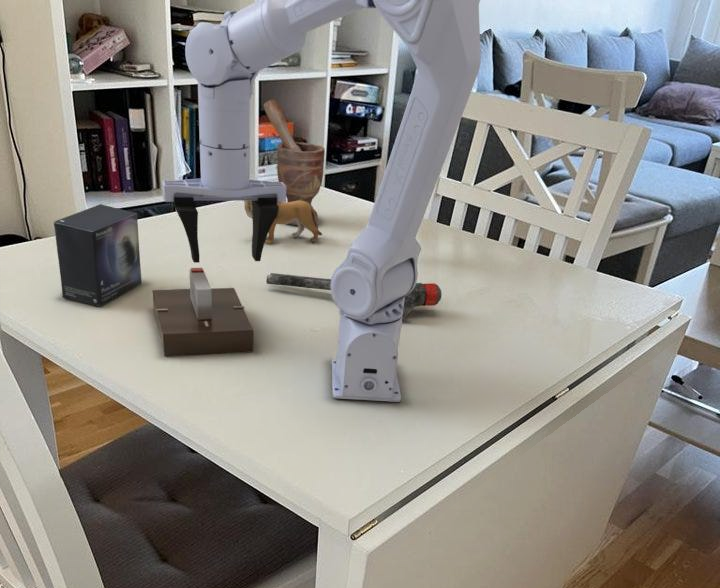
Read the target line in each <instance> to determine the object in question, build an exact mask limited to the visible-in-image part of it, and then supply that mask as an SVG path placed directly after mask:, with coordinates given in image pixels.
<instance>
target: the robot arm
mask: <svg viewBox="0 0 720 588" xmlns="http://www.w3.org/2000/svg"><path fill="white" fill-rule="evenodd" d="M480 2H481V0H256V1H254V2H252V3H251V4H249V5H246V6H245V7H244V8H242V9H240V10H238V11H237V10H233V9H232V10H228V11H226V12H225V13H224V14H223V20H221V22H220V23H218V24H217V23H216V24H215V23H211V22H207V21H203V22H198V23H197V24H196V25H195V27H194V28H192V29H191V31H190V32H189V34H188V35H187V38H186V42H185V48H184V52H185V53H184V54H185V55H184V56H185V61H186V64H187V67H188V70H189V71H190V73H191V75H192V76H193V78H194V79H195V80H196V81H197V99H198V100H197V102H198V131H199V135H198V136H199V160H200V161H199V163H200V164H199V165H200V177H199V178H189V179H178V180H176V179H175V180H162V182H161V184H162V185H161V186H162V198H163V200H164V202H165V203H172V204H173V206H174V209H175V211H176V213H177V216H178V217H179V219H180V222H181V223H182V226H183V228H184V232H185V234H186V237H187V241H188V244H189V249H190V256H191V259H192V262H193V263H195V264H196V263H197V264H198V263H200V247H199V237H198V236H199V235H198V233H199V232H198V231H199V229H198V226H199V225H198V224H199V223H198V222H199V221H198V220H199V211H198V209H197V204H196V202H195V201H218V202H219V201H221V202H222V201H223V202H224V201H228V202H229V201H237V202H238V201H239V202H241V201H243V202H244V201H251V202H252V218H253V219H252V218H251V219H252V235H251V256H252V259H253V260H254V261H255V262H261V259H262V254H263V250H264V246H265V243H266V240H267V238H268V236H269V233H268V232H269V230H270V228H271V226H272V224H273V222H274V220H275V219H276V217H277V215H278V212H279V206H278V205H277V202H283V203H285V202H287V197H286V186H285V184H284V183H283V182H279V181H268V180H259V179H250V169H251V168H250V159H251V157H250V150H251V149H250V147H251V146H250V142H251V141H250V137H251V133H250V132H251V130H250V129H251V128H250V127H251V124H250V123H251V120H250V119H251V116H250V115H251V113H250V112H251V98H252V96H253V95H254V82H255V79H256V78H257V77H258V75H259V73H260V71H261V70H264V69H266V68H268V67H269V66H272V65H274V64H276V63H278V62H280V61H282V60H284V59H286V58H288V57H290V56H293V55H295V54H298V53H299V52H300V51H301V50H302V48H304V45H305V42H306V39H307V33H308V32H311V31H313V30H316V29H318V28H320V27H322V26H325V25H328V24H329V23H332V22H334V21H336V20H338V19H341V18H343V17H345V16H348V15H350V14H352V13H355V12H357V11H360V10H362V9H377V11H378V12H379V14H380V15H381V16H382V18H383V19H384V20H385V21H386V22H387V24H388V25H389V26H390V28H391V29H392V30H393V31H394V32H395V33H396V35H397V36H398V37H399V38H400V40H401V41H402V42H403V43H404V44H405V45H406V46H407V49H408V51H409V53H410V55H411V58H412V61H413V62H414V65H415V67H416V70H417V74H416V76H415V80H414V83H413V86H412V89H411V91H410V92H411V93H410V95H409V98H408V101H407V104H406V107H405V109H404V113H403V116H402V119H401V122H400V125H399V128H398V131H397V134H396V136H395V140H394V143H393V146H392V150H391V152H390V155H389V158H388V161H387V164H386V167H385V171H384V174H383V176H382V179H381V182H380V186H379V188H378V192H377V195H376V196H375V197H376V198H375V201H374V204H373V206H372V209H371V212H370V216H369V219H368V221H367V224H366V226H365V228H364V229H363V230H362V231H361V232H360V234H359V235H358V236H357V237H356V238H355V240H354V241H353V242H352V244H350V247H349V248H348V251H347V254H346V257H345V258H344V260H343V261H342V263H341V264H339V265H338V266H337V267H336V268H335V269H334V271H333V272H332V275H331V278H330V279H331V284H330V285H331V290H330V294H331V297H332V300H333V302H334V304H335V306H336V307H337V308H338V314H339V324H338V335H337V336H338V337H337V348H336V349H337V350H336V358H333V359H332V360H331V387H332V391H331V392H332V397H333V398H334V399H339V400H340V399H341V400H342V399H343V400H357V401H373V402H375V401H376V402H391V403H399V402H401V400H402V393H401V390H400V389H401V388H400V385H399V379H398V373H397V368H398V362H399V361H398V359H399V347H400V346H399V345H400V338H401V331H402V323H403V319H402V317H403V309H404V300H405V296H407V295H408V294H410V293H411V291H412V290H413V289H414V287H415V285H416V283H418V275H419V274H418V273H419V272H418V259H419V257H420V253H421V251H422V246H421V244H420V243H419V242H418V240H417V238H416V237H417V235H418V232H419V230H420V227H421V225H422V222H423V220H424V217H425V214H426V211H427V208H428V206H429V204H430V201H431V198H432V197H433V193H434V190H435V188H436V185H437V182H438V180H439V177H440V175H441V172H442V169H443V167H444V164H445V161H446V159H447V156H448V153H449V151H450V148H451V146H452V143H453V141H454V138H455V136H456V134H457V133H456V132H457V130H458V127H459V124H460V122H461V119H462V118H463V117H462V116H463V114H464V111H465V108H466V107H467V103H468V101H469V98H470V96H471V94H472V90H473V88H474V85H475V82H476V80H477V77H478V76H479V72H480V67H481V64H482V63H481V61H482V60H481V59H482V57H481V56H482V55H481V54H482V53H481V29H480V26H481V25H480Z"/></svg>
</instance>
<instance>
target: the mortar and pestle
mask: <svg viewBox="0 0 720 588" xmlns="http://www.w3.org/2000/svg"><path fill="white" fill-rule="evenodd" d="M263 109H264V112H265V114H266V116H267V118H268V120H269V122H270V123H271V125H272V127H273V128H274V130H275V131H276V133H277V135H278V136H279V138H280V140H281V142H280V143H278V144H277V145H276V165H277V166H276V173H277V179H278V182H283V183H284V184H285V186H286V202H293V201H298V200H301V201H306V202H308V203H309V204H310V205H311V206H312V207H313V205H312V202H313V199H314V198H315V197H316V196H317V195H318V194H319V192H320V189H321V186H322V182H323V177H324V167H325V166H324V163H325V153H326V151H325V150H326V149H325V148H324V147H323V146H322V145H318V144H315V143H310V142H300V141H299V142H298V141H297V142H296V141H295V140H294V137H293V135H292V133H291V131H290V128H289V126H288V123H287V120H286V118H285V115H284V113H283V110H282V108H281V106H280V103H279V102H278V101H277V100H276V99H275V98H271V99H269V100H267V101H265V102H264V103H263ZM315 213H316V217H317V223H318V222H319V216H318V212H317V211H316V210H315ZM311 217H312V213H311ZM312 222H313V224H314V221H313V217H312ZM287 225H292V226H298V224H297V222H296V220H294V221H292V222H291V223H288V224H287Z"/></svg>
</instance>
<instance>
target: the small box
mask: <svg viewBox="0 0 720 588" xmlns="http://www.w3.org/2000/svg"><path fill="white" fill-rule="evenodd" d="M53 228H54V236H55V244H56V253H57V259H58V268H59V275H60V285H61V286H60V287H61V296H62V298H64V299H68V300H73V301H76V302H81V303H84V304H88V305H92V306H97V307H101V306H103V305H105V304H107V303H109V302H110V301H113V300H114V299H116V298H118V297H119V296H121V295H123V294H125V293H127V292H130V290H133V289H134V288H137V287H138V286H140V285H142V269H141V268H142V267H141V256H140V255H141V254H140V239H139V223H138V212H135V211H130V210H125V209H121V208H117V207H113V206H110V205H106V204H101V203H100V204H97V205H95V206H92V207H89V208H87V209H84V210H81V211H79V212H76V213H73V214H70V215H68V216H65V217H63V218H60V219H57V220H54V221H53Z"/></svg>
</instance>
